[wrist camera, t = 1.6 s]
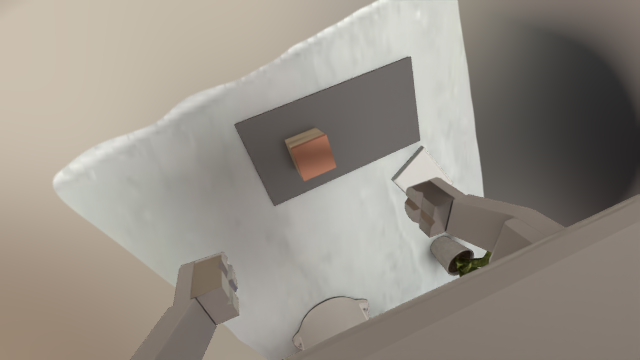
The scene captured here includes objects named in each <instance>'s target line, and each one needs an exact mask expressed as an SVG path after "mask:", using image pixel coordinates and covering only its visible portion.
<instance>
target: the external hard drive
mask: <svg viewBox="0 0 640 360" xmlns="http://www.w3.org/2000/svg"><path fill="white" fill-rule="evenodd" d="M435 177H438V178H441V179H442V180H444V181H445V182H447V183H448V184H450V185H451V186H452V184H453V182H452V181H451V180H450V178H449V177H448V176H447V175H446V173H445V172H444V171H443V170H442V168H441V167H440V166H439V165H438V164H437V162H436V161H435V160H434V159H433V157H432V156H431V155H430V154H429V153H428V151H427V150H426V149H425V148H424V147H423V146H421V147H420V148H419V149H418V150H417V151H416V152H415V153H414V154H413V156H412V157H411V158H410V159H409V160H408V161H407V162H406V163H405V164H404V166H403V167H402V168H401V169H400V170H399V171H398V172H397V173H396V174H395V176H394V177H393V178H392V179H391V180H392V181H393V182H394V183H395V184H396V185H398V186H399V187H400V188H401V189H402V190H403V191H404V192H405V193H406V189H407V188H408V187H410V186H413V185H416V184H419V183H421V182H424V181H427V180H429V179H432V178H435Z"/></svg>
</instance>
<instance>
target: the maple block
mask: <svg viewBox="0 0 640 360" xmlns="http://www.w3.org/2000/svg"><path fill="white" fill-rule="evenodd" d="M285 143H286V145H287V148H288V150H289V153H290V155H291V157H292V160H293V162H294V165H295V167H296V170H297V171H298V173H299V174H300V176H301V177H302V179H303V180H304V181H306V180H309V179H311V178H313V177H315V176H318V175H320V174H322V173H324V172H327V171H329V170H331V169H333V168H336V164H335V161H334V158H333V154H332V151H331V148H330V145H329V141H328V138H327V135H326V134H325V133H323V132H322V131H320V130H319V129H317V128H316V127H315V128H313V129H310V130H308V131H305V132H303V133H300V134H298V135H296V136H293V137H291V138H288V139H286V140H285Z"/></svg>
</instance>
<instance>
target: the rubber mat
mask: <svg viewBox="0 0 640 360" xmlns="http://www.w3.org/2000/svg"><path fill="white" fill-rule="evenodd" d="M235 127H236V129H237V131H238V133H239V135H240V137H241V139H242V141H243V143H244V145H245V147H246V149H247V151H248V153H249V155H250V157H251V159H252V162H253V164H254V166H255V168H256V170H257V172H258V174H259V176H260V178H261V180H262V182H263V184H264V186H265V188H266V190H267V192H268V194H269V196H270V198H271V200H272V202H273V204H274V206H276V205H278V204H280V203H283V202H285V201H287V200H289V199H291V198H294V197H296V196H298V195H300V194H303V193H305V192H307V191H309V190H311V189H314V188H316V187H318V186H320V185H322V184H325V183H327V182H329V181H331V180H334V179H336V178H338V177H340V176H342V175H345V174H347V173H349V172H351V171H354V170H356V169H358V168H360V167H362V166H365V165H367V164H369V163H371V162H373V161H376V160H378V159H380V158H382V157H385V156H387V155H389V154H391V153H393V152H396V151H398V150H400V149H402V148H405V147H407V146H409V145H411V144H413V143H416V142H418V141H420V134H419V125H418V116H417V107H416V98H415V89H414V80H413V71H412V62H411V57H407V58H404V59H402V60H399V61H396V62H394V63H391V64H389V65H386V66H384V67H381V68H378V69H376V70H373V71H371V72H368V73H366V74H363V75H360V76H358V77H355V78H353V79H350V80H348V81H345V82H342V83H340V84H337V85H335V86H332V87H330V88H327V89H324V90H322V91H319V92H317V93H314V94H312V95H309V96H306V97H304V98H301V99H299V100H296V101H294V102H291V103H288V104H286V105H283V106H281V107H278V108H276V109H273V110H270V111H268V112H265V113H263V114H260V115H258V116H255V117H252V118H250V119H247V120H245V121H242V122H240V123H237V124H235ZM315 127H316V128H317V129H319V130H320V131H322V132H323V133H325V134H326V135H327V138H328V141H329V145H330V148H331V151H332V154H333V158H334V161H335V164H336V168H333V169H331V170H329V171H327V172H324V173H322V174H320V175H318V176H315V177H313V178H311V179H309V180H306V181H304V180H303V179H302V177H301V176H300V174H299V173H298V171H297V170H296V167H295V165H294V162H293V160H292V157H291V155H290V153H289V150H288V148H287V145H286V143H285V140H286V139H288V138H291V137H293V136H296V135H298V134H300V133H303V132H305V131H308V130H310V129H313V128H315Z"/></svg>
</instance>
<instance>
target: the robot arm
mask: <svg viewBox="0 0 640 360" xmlns="http://www.w3.org/2000/svg"><path fill="white" fill-rule="evenodd" d="M406 196H407V197H408V198H407V200H406V201H405V211H406V214H407V215H408V217H409V218H410V219H411V220H412V221H413V222H416V223H419V228H420V229H421V230H422V231H423V232H424V233H425V234H426V235H427V236H428V237H429V238H430V237H433V236H435V235H438V234H441V233H443V232H446V233H448V234H450V235H453V236H455V237H457V238H459V239H462V240H464V241H466V242H468V243H471V244H473V245H475V246H478V247H480V248H482V249H484V250H487V251H489V252H491V253H492V254H491V257H490V259H489V264H488V265H485V266H483V267H481V268H479V269H477V270H475V271H472V272H470V273H468V274H466V275H464V276H462V277H459V278H457V279H455V280H453V281H451V282H449V283H446V284H444V285H442V286H440V287H438V288H436V289H433V290H431V291H429V292H427V293H425V294H423V295H420V296H418V297H416V298H414V299H412V300H410V301H407V302H405V303H403V304H401V305H399V306H397V307H395V308H392V309H390V310H388V311H386V312H384V313H382V314H379V315H377V316H375V317H373V318H371V319H369V304H368V302H367V300H364V299H362V300H354V299H351V298H347V297H338V298H333V299H330V300H327V301H325V302H323V303H321V304H319V305H318V306H316V307H315V308H314V309H312V310H311V311H310V312H309V313H308V314H307V316H306V317H305V318H304V320H303V322H302V325H301V328H300V330H299V332H298V333H297V334H296V335H295V337H294V338H293V343H294V345H295V346H296V347H297V348H299V349H300V350H301V351H299V352H297V353H295V354H293V355H291V356H289V357H287V358H284V359H282V360H640V195H637V196H634V197H632V198H630V199H628V200H626V201H624V202H621V203H620V204H617V205H615V206H613V207H611V208H608V209H606V210H604V211H602V212H600V213H598V214H596V215H593V216H591V217H589V218H587V219H585V220H583V221H581V222H578V223H576V224H574V225H572V226H570V227H568V228H565V227H563V226H561V225H560V224H558V223H556V222H554V221H552V220H550V219H549V218H547V217H546V216H544V215H542V214H540V213H539V212H537V211H535V210H534V209H530V208H526V207H522V206H517V205H513V204H509V203H504V202H500V201H496V200H492V199H487V198H483V197H479V196H474V195H470V194H468V195H465V194H463V193H462V192H460V191H459V190H457V189H456V188H454V187H453V186H451V185H450V184H448V183H447V182H445V181H444V180H442V179H441V178H438V177H435V178H432V179H429V180H427V181H424V182H421V183H419V184H416V185H413V186H410V187H408V188H407V189H406ZM237 289H238V288H237V280H236V275H235V272H234V270H233V268H232V266H231V265H229V264H228V261H227V256H226V255H225V253H224V252H221V253H218V254H215V255H212V256H208V257H205V258H202V259H199V260H196V261H194V262H191V263H188V264H185V265H181V267H180V269H179V273H178V279H177V285H176V291H175V297H174V304H173V306H172V307H170V308H168V309H167V311H166V312H165V313H164V315H163V316H162V317H161V319H160V320H159V321H158V323H157V324H156V325H155V327H154V328H153V330H152V331H151V332H150V334H149V335H148V336H147V338H146V339H145V340H144V342H143V343H142V345H141V346H140V347H139V348H138V350H137V351H136V353H135V354H134V355H133V356H132V358H131V359H130V360H202V358H203V356H204V354H205V351H206V349H207V347H208V345H209V342H210V340H211V338H212V336H213V333H214V331H215V329H216V325H218V324H220V323H223V322H225V321H227V320H229V319H232V318H234V317H236V316H239V301H238V297H237V296H236V294H235V292H236V290H237Z"/></svg>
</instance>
